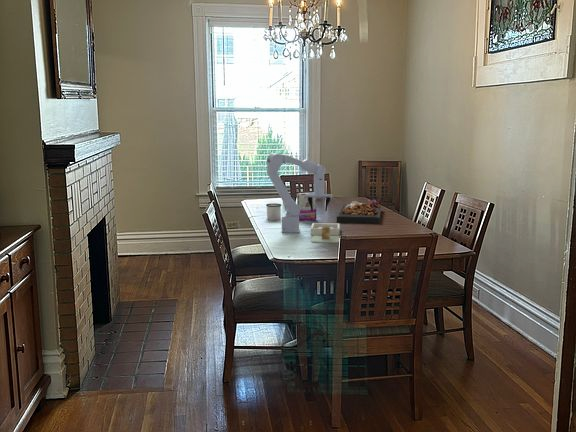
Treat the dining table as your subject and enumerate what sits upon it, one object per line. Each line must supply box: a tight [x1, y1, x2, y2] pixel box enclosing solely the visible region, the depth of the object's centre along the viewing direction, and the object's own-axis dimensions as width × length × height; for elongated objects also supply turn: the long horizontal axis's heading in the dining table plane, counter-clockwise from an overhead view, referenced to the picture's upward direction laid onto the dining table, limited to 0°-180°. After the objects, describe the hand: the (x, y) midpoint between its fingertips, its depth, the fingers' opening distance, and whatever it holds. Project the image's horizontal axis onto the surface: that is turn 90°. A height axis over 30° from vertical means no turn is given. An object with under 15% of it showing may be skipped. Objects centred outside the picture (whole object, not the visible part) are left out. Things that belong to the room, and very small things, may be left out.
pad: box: [310, 235, 341, 244], centre depth 293 cm, size 14×14×1 cm
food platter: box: [336, 198, 382, 225], centre depth 357 cm, size 45×25×10 cm, turn 169°
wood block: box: [321, 226, 331, 239], centre depth 293 cm, size 4×4×6 cm
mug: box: [265, 202, 283, 221], centre depth 351 cm, size 12×10×9 cm
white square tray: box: [310, 222, 341, 236], centre depth 311 cm, size 15×15×4 cm
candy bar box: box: [296, 191, 317, 222], centre depth 346 cm, size 11×5×16 cm, turn 101°
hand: (319, 211), depth 316 cm, fingers open, 7 cm apart
